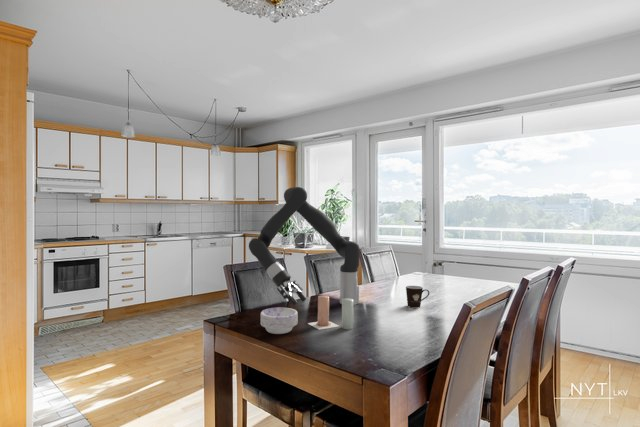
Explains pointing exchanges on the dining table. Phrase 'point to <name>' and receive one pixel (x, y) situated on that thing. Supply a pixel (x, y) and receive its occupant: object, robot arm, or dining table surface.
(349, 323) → the grey-green tube
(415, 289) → the coffee mug
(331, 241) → the robot arm
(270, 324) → the paper bowls
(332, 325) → the card
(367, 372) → the dining table surface
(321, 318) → the terracotta tube
